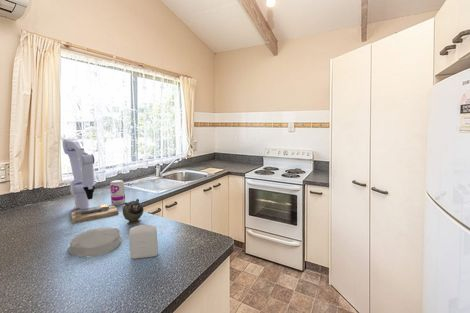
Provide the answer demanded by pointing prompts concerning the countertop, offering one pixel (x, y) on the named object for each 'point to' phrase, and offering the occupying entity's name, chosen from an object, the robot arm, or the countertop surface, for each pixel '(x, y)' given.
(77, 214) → the latch board
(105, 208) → the latch bar
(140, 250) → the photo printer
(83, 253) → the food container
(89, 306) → the countertop surface
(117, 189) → the supplement can
